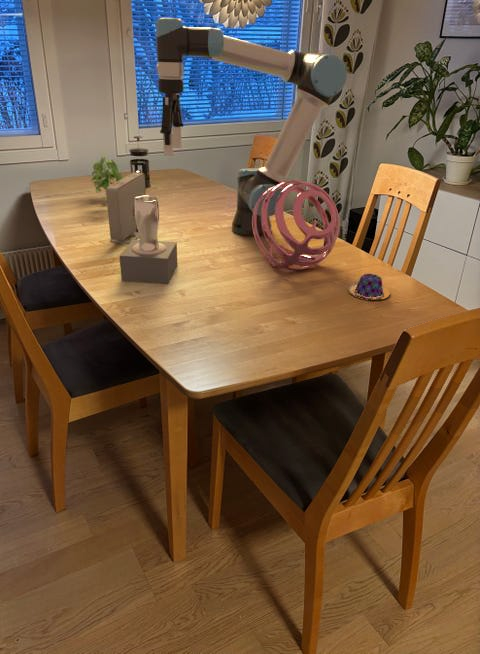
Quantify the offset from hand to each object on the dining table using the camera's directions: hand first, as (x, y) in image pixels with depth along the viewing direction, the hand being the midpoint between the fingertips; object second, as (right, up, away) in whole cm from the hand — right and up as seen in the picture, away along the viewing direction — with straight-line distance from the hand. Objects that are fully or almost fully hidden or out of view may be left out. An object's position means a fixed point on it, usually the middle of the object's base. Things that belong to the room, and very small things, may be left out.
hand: (173, 151), depth 164 cm
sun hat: (+59, -46, -14) cm, 76 cm away
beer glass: (-6, -33, -11) cm, 35 cm away
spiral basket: (+39, -36, +2) cm, 53 cm away
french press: (-27, +13, +87) cm, 92 cm away
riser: (-6, -40, -6) cm, 40 cm away
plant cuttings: (-32, -2, +60) cm, 68 cm away
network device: (-19, -22, +24) cm, 38 cm away
